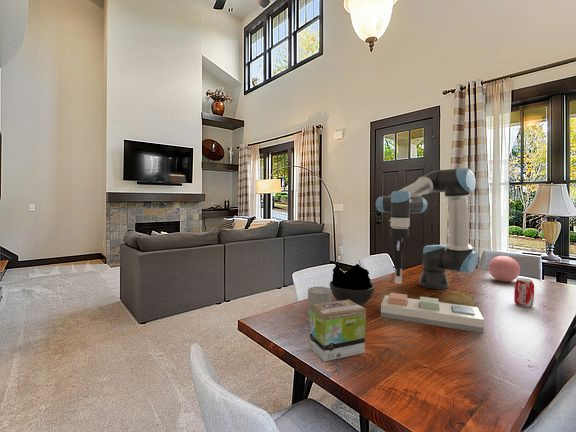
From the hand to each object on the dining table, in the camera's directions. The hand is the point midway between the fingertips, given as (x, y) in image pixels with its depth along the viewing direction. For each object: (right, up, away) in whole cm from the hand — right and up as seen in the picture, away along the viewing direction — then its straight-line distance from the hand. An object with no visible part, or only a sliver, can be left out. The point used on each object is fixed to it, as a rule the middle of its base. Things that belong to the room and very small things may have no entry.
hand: (398, 283), depth 127 cm
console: (+11, -13, -4) cm, 18 cm away
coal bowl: (-18, -13, +10) cm, 24 cm away
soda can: (+62, -13, +11) cm, 64 cm away
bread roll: (+29, -13, +7) cm, 33 cm away
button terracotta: (0, -9, +1) cm, 9 cm away
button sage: (+11, -9, -4) cm, 15 cm away
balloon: (+84, -11, +54) cm, 100 cm away
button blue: (+22, -11, -9) cm, 26 cm away
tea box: (-31, -15, -31) cm, 46 cm away
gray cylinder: (-34, -14, -7) cm, 37 cm away
